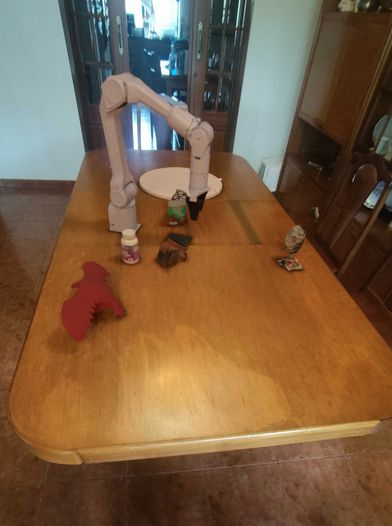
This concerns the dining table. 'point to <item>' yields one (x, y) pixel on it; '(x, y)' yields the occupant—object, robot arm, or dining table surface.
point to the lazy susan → (174, 182)
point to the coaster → (179, 238)
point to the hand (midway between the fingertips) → (196, 215)
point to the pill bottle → (129, 246)
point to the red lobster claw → (89, 301)
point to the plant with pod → (296, 243)
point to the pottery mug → (173, 255)
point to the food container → (177, 208)
